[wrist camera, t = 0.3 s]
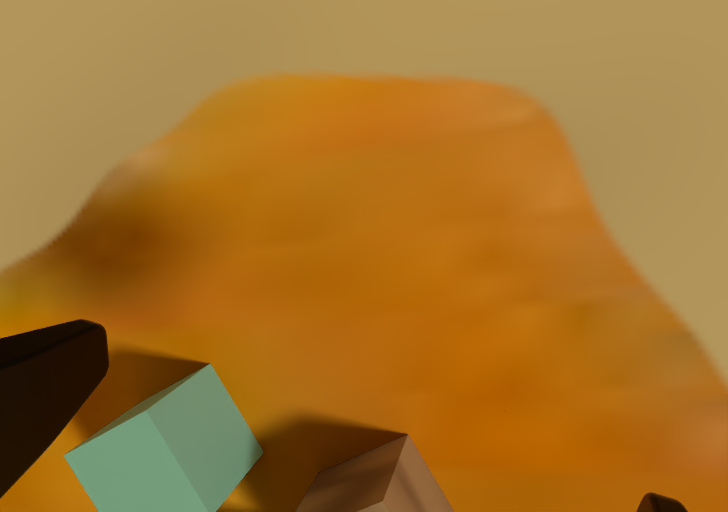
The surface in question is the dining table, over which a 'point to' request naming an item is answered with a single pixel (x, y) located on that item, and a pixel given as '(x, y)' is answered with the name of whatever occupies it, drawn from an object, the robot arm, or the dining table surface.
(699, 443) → the dining table surface
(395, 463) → the walnut block
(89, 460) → the teal block
